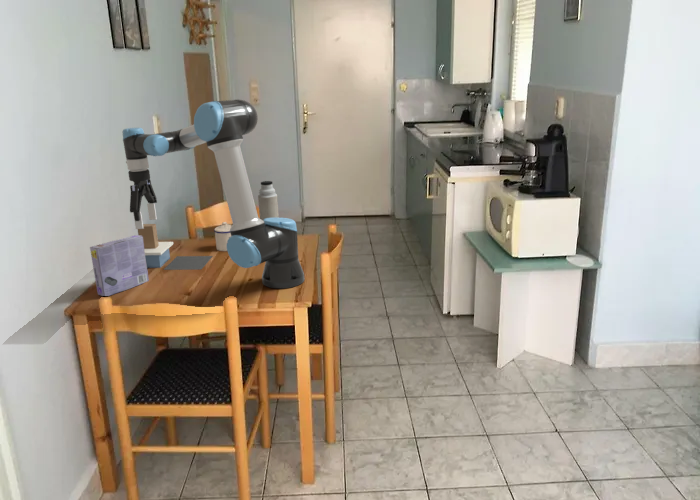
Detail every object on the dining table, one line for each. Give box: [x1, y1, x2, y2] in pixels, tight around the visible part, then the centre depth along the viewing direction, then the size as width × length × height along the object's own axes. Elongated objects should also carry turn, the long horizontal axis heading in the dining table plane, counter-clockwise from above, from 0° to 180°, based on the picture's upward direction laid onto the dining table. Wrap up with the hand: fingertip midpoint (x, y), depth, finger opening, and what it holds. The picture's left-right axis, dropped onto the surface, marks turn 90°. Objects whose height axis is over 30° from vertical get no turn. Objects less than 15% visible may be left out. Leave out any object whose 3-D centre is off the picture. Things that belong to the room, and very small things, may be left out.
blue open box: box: [145, 248, 171, 269], centre depth 227 cm, size 11×11×6 cm
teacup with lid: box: [213, 221, 232, 252], centre depth 243 cm, size 12×9×12 cm
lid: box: [137, 223, 174, 255], centre depth 224 cm, size 14×14×10 cm
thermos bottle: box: [257, 180, 280, 220], centre depth 242 cm, size 8×8×28 cm
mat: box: [163, 255, 214, 271], centre depth 227 cm, size 16×15×1 cm
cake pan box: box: [89, 234, 149, 297], centre depth 201 cm, size 19×5×18 cm, turn 145°
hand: (146, 224), depth 222 cm, fingers open, 13 cm apart
